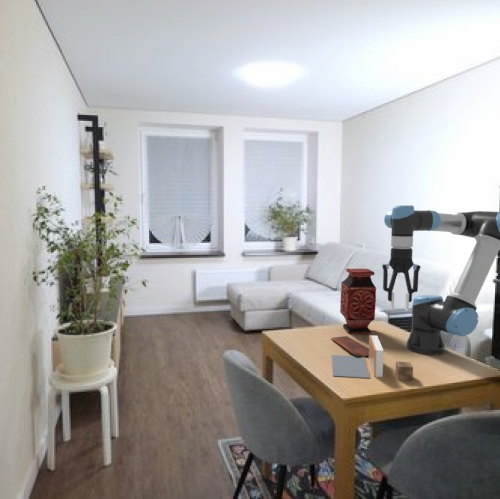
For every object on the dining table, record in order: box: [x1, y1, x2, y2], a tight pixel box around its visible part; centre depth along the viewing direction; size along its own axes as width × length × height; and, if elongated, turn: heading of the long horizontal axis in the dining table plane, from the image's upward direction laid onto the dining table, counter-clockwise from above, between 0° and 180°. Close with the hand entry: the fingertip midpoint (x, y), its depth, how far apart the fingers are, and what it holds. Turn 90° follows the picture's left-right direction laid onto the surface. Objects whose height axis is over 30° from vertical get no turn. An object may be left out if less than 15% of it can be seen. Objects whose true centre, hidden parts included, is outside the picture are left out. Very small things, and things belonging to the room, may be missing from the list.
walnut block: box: [394, 361, 414, 382], centre depth 156 cm, size 5×5×5 cm
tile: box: [368, 334, 384, 378], centre depth 165 cm, size 3×18×10 cm, turn 171°
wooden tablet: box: [331, 335, 369, 357], centre depth 189 cm, size 27×10×2 cm, turn 12°
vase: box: [339, 268, 377, 335], centre depth 213 cm, size 14×14×30 cm
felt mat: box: [331, 354, 371, 379], centre depth 167 cm, size 13×22×1 cm, turn 171°
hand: (399, 309), depth 162 cm, fingers open, 4 cm apart
